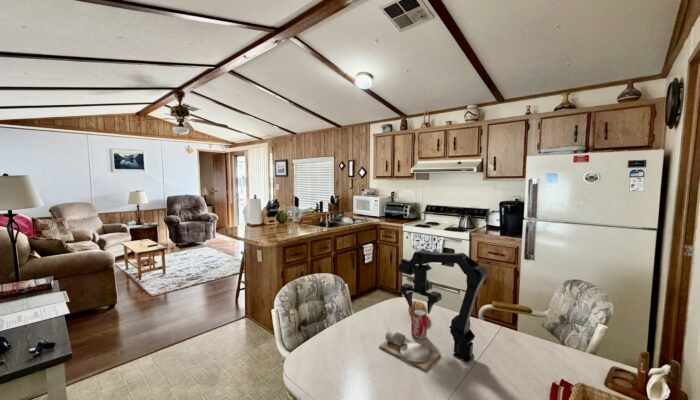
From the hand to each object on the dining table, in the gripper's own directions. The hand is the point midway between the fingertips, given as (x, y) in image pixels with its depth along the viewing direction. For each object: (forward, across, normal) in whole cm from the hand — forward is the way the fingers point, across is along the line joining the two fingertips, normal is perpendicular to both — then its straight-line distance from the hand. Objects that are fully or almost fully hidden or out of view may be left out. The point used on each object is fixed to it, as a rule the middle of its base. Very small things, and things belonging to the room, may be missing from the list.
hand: (419, 310), depth 137 cm
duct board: (+13, -3, +14) cm, 19 cm away
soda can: (+13, 0, 0) cm, 13 cm away
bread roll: (+13, +10, -16) cm, 23 cm away
